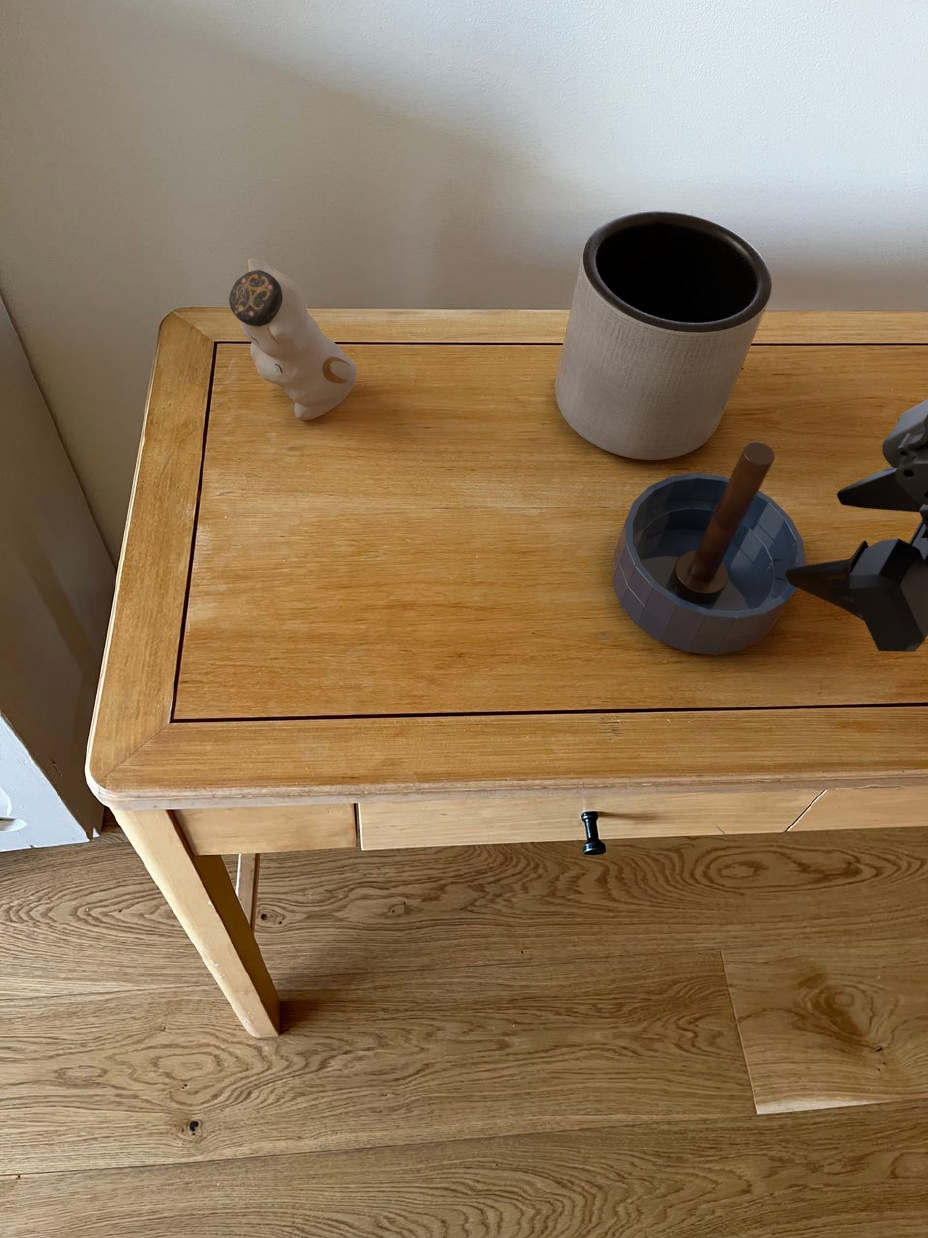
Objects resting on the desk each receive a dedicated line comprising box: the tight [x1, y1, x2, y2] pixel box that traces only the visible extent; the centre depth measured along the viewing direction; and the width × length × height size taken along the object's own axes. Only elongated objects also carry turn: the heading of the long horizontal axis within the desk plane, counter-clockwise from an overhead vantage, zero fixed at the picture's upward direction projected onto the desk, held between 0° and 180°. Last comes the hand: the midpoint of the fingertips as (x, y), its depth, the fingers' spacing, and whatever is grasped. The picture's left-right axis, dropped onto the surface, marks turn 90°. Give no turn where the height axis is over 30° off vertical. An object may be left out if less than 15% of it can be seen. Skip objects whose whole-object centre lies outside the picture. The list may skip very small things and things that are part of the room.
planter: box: [554, 210, 773, 461], centre depth 82 cm, size 16×16×16 cm
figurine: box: [228, 257, 358, 421], centre depth 80 cm, size 9×10×15 cm
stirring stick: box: [671, 441, 776, 604], centre depth 71 cm, size 4×4×16 cm
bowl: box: [611, 472, 807, 656], centre depth 75 cm, size 14×14×6 cm
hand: (814, 536), depth 67 cm, fingers open, 9 cm apart
